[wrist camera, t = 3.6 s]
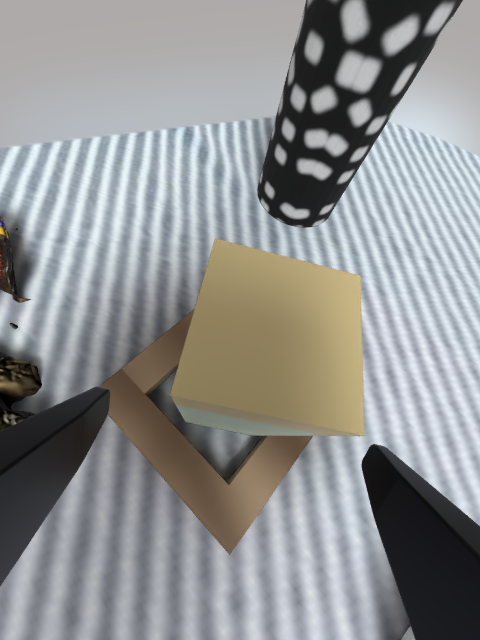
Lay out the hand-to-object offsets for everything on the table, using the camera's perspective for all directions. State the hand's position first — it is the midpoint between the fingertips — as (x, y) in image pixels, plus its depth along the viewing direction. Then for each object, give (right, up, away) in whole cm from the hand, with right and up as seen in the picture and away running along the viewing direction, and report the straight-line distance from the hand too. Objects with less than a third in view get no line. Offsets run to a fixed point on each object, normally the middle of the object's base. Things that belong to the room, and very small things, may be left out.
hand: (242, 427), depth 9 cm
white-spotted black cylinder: (+6, +17, +19) cm, 26 cm away
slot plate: (-1, -2, +10) cm, 10 cm away
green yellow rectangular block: (-1, -2, +10) cm, 10 cm away
